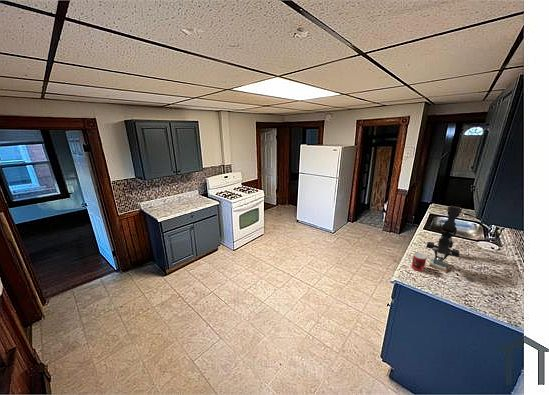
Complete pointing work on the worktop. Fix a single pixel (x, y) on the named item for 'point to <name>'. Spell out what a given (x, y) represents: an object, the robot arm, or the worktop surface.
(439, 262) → the housing
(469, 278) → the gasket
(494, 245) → the worktop surface
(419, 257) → the canned food
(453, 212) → the robot arm
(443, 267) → the stand
